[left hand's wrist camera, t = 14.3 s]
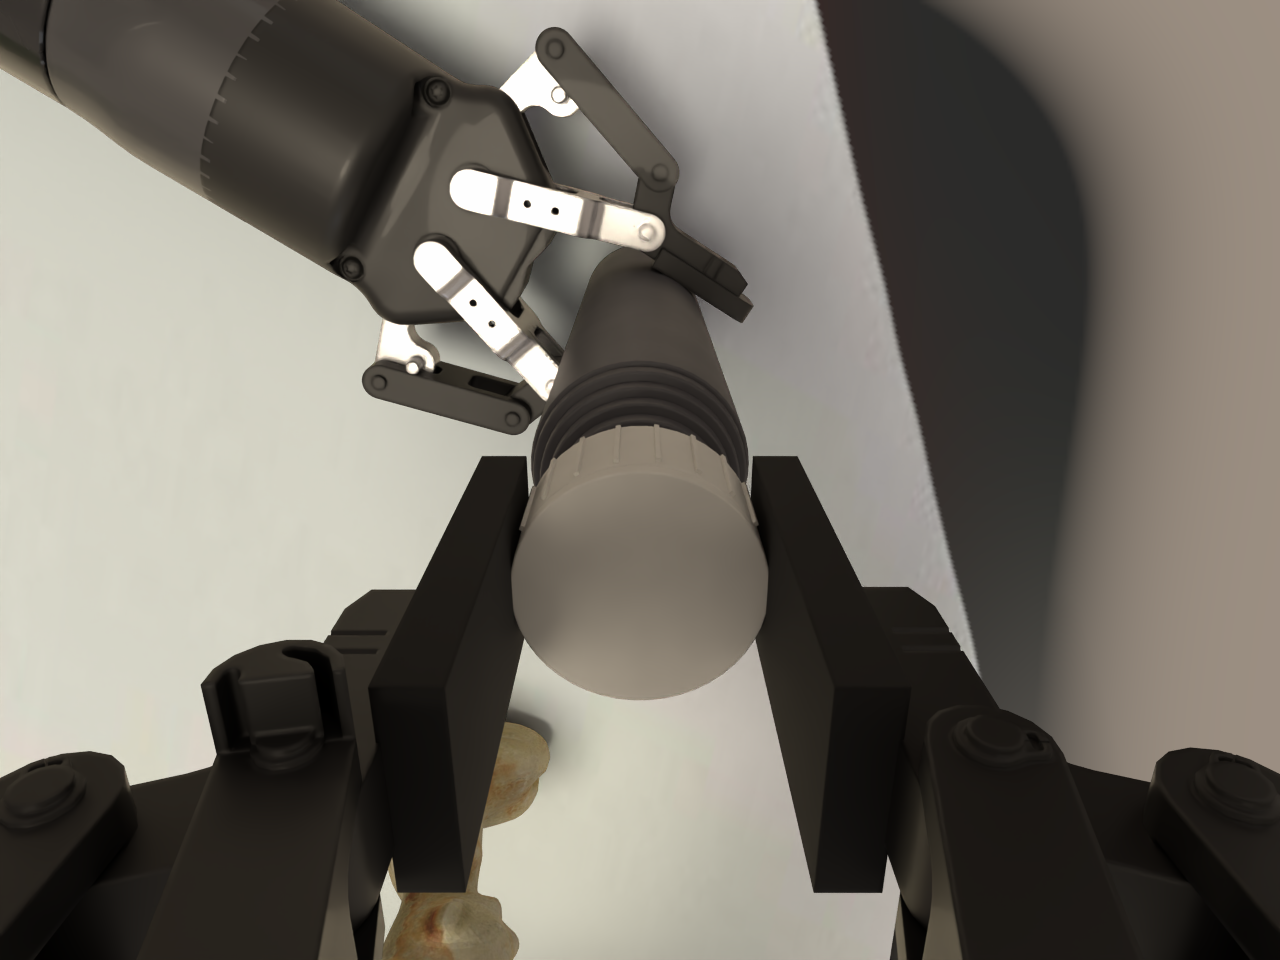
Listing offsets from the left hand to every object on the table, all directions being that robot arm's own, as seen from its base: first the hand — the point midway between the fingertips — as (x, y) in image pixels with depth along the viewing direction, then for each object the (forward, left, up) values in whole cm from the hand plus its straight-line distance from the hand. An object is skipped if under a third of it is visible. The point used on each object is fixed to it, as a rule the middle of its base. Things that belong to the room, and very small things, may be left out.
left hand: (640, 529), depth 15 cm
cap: (0, 0, +2) cm, 2 cm away
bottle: (0, 0, -23) cm, 23 cm away
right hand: (-2, -2, -16) cm, 17 cm away
